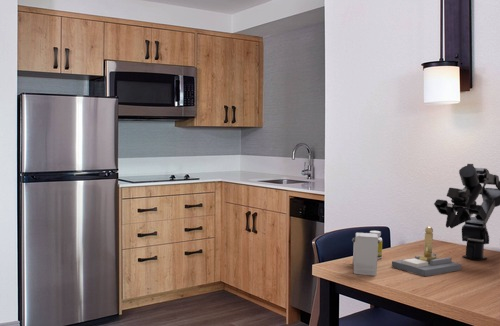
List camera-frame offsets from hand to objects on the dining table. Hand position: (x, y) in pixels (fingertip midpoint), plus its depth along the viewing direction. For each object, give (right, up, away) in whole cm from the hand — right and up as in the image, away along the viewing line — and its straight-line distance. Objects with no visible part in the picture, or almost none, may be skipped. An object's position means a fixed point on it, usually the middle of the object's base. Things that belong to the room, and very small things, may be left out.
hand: (448, 227), depth 194 cm
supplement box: (-33, -14, -13) cm, 38 cm away
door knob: (-9, -11, -5) cm, 16 cm away
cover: (-15, -12, -9) cm, 21 cm away
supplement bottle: (-24, -13, +9) cm, 29 cm away
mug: (-30, -13, -2) cm, 33 cm away
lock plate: (-10, -14, -5) cm, 17 cm away
